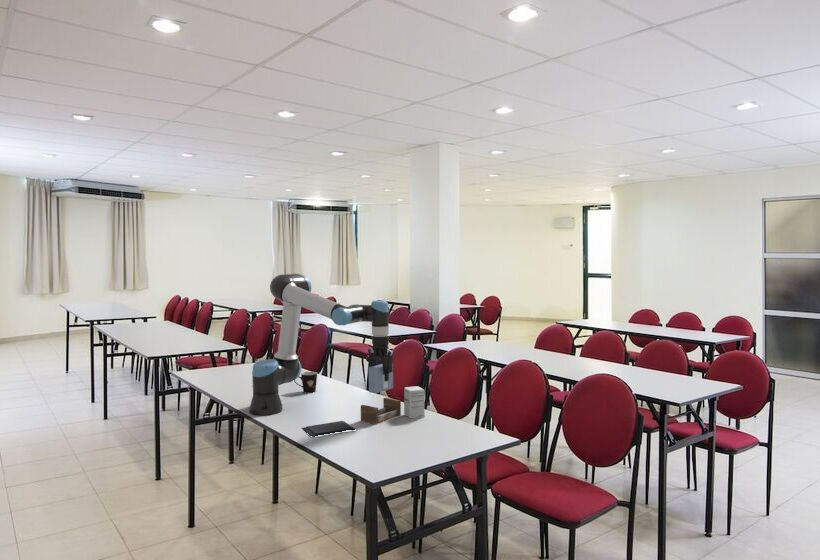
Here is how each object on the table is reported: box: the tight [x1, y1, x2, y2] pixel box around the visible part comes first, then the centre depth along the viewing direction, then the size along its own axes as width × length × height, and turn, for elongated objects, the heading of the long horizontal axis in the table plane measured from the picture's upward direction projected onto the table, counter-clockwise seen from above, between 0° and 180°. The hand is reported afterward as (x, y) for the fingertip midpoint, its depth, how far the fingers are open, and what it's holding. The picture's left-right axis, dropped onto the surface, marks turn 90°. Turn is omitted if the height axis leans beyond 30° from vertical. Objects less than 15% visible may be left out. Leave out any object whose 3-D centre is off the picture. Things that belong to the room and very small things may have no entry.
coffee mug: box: [293, 371, 318, 394], centre depth 299 cm, size 12×9×10 cm
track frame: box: [360, 397, 402, 425], centre depth 250 cm, size 17×9×7 cm, turn 142°
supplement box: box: [403, 385, 425, 420], centre depth 253 cm, size 7×7×13 cm
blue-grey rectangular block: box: [368, 363, 394, 394], centre depth 249 cm, size 12×4×11 cm, turn 142°
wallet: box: [301, 420, 356, 437], centre depth 234 cm, size 20×2×15 cm
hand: (381, 387), depth 249 cm, fingers closed on blue-grey rectangular block, 4 cm apart
